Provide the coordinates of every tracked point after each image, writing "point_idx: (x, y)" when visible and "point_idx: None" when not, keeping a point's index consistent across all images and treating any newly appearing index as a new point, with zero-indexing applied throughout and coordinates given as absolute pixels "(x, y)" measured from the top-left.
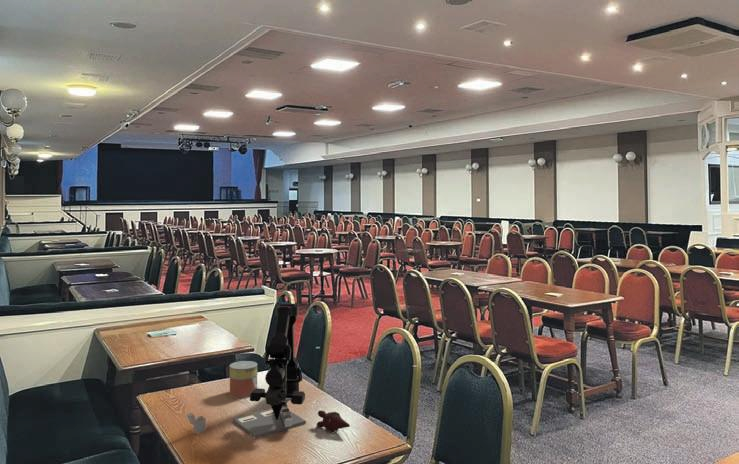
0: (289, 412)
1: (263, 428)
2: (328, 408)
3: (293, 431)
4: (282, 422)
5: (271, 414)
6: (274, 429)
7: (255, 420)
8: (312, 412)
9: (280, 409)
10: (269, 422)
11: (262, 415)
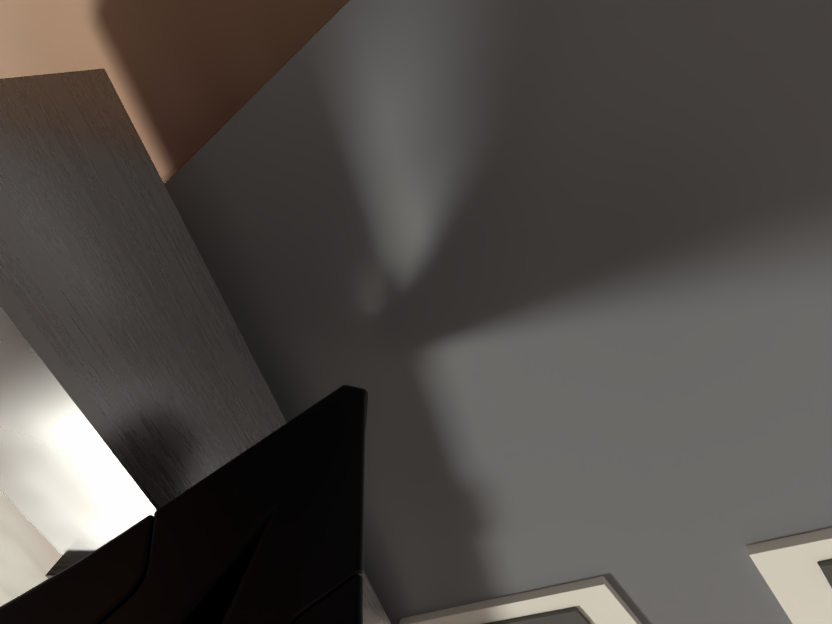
0: (21, 507)
1: (670, 104)
2: (8, 599)
3: (28, 68)
4: (285, 370)
5: (502, 611)
6: (364, 21)
7: (797, 510)
8: None
9: (18, 602)
10: (520, 400)
11: (640, 620)
